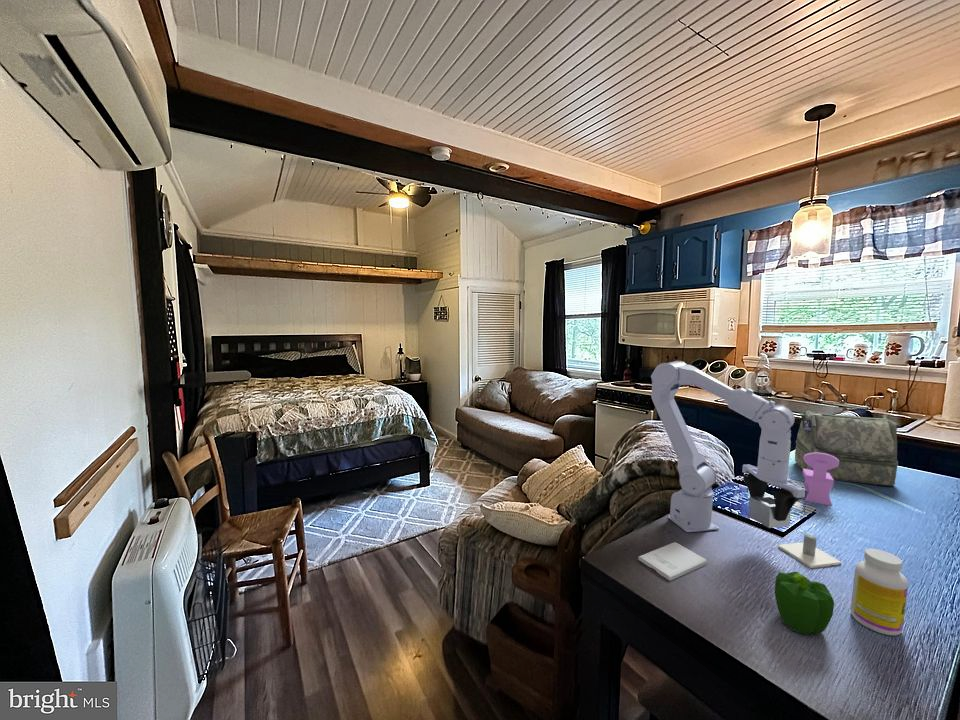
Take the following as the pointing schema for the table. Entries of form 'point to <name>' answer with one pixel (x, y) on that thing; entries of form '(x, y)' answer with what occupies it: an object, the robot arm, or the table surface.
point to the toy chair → (819, 477)
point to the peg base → (809, 553)
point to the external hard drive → (672, 560)
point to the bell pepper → (803, 603)
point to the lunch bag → (851, 446)
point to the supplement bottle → (879, 592)
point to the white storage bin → (765, 511)
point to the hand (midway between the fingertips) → (768, 513)
